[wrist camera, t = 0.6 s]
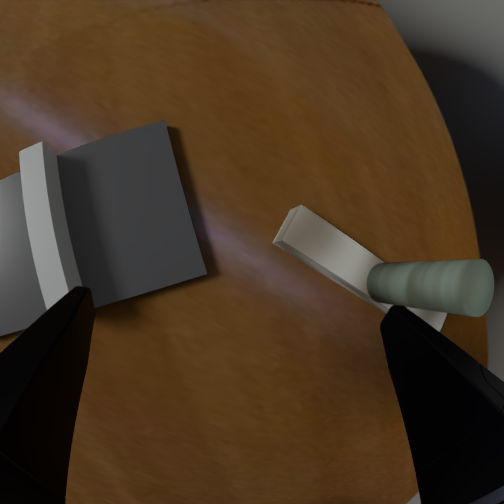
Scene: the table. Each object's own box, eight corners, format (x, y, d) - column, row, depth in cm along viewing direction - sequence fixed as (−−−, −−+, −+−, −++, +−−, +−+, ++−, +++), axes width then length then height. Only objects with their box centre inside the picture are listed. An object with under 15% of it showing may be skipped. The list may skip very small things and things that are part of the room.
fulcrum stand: (206, 273, 22) (211, 275, 19) (-9, 338, 18) (-34, 347, 14) (165, 125, 22) (163, 100, 18) (-34, 204, 18) (-60, 196, 14)
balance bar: (431, 308, 27) (532, 321, 15) (419, 337, 27) (519, 361, 15) (290, 209, 24) (384, 161, 12) (271, 244, 24) (358, 221, 12)
